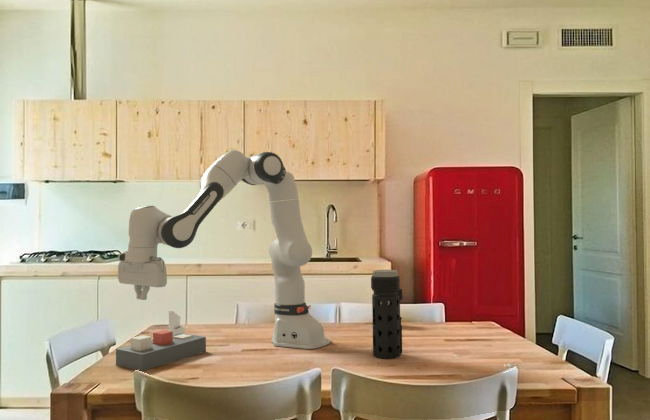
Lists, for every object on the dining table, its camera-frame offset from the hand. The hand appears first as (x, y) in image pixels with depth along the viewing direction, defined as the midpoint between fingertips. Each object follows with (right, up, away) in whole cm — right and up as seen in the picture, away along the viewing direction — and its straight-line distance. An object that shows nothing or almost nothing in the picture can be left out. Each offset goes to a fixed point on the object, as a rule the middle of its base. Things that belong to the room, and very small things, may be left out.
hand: (141, 299), depth 158 cm
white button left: (0, -17, -1) cm, 17 cm away
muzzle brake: (+80, -20, +6) cm, 82 cm away
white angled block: (0, -22, +39) cm, 44 cm away
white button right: (+9, -20, +13) cm, 26 cm away
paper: (+112, -20, -4) cm, 114 cm away
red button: (+5, -17, +6) cm, 19 cm away
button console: (+5, -21, +6) cm, 22 cm away
